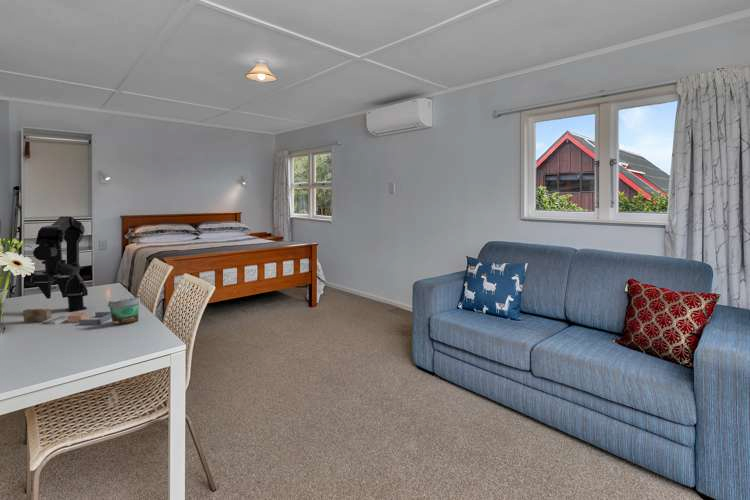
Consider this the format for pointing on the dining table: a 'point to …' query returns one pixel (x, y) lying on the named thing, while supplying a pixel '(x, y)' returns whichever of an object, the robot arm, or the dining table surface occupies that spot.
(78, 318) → the salmon pink box
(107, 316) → the frame
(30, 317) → the turner
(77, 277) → the robot arm
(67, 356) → the dining table surface
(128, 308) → the food container
